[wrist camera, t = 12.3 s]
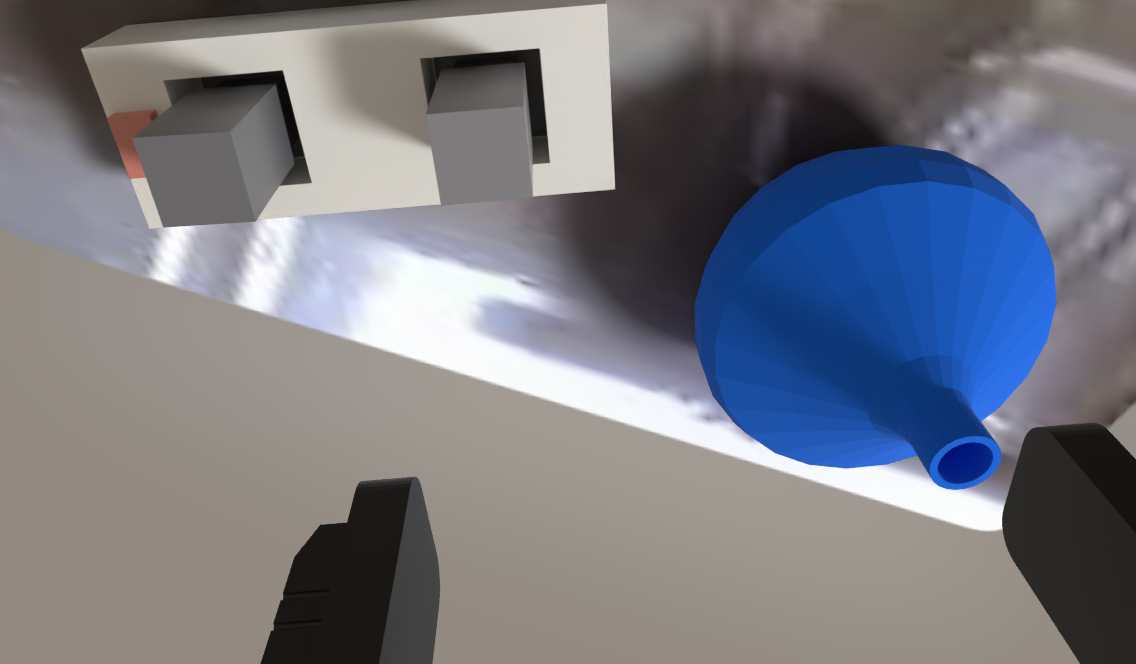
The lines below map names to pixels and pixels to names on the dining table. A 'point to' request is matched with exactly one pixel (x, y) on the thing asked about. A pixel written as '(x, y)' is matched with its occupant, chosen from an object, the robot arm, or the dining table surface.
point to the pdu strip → (372, 91)
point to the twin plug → (481, 132)
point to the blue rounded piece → (876, 311)
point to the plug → (219, 152)
